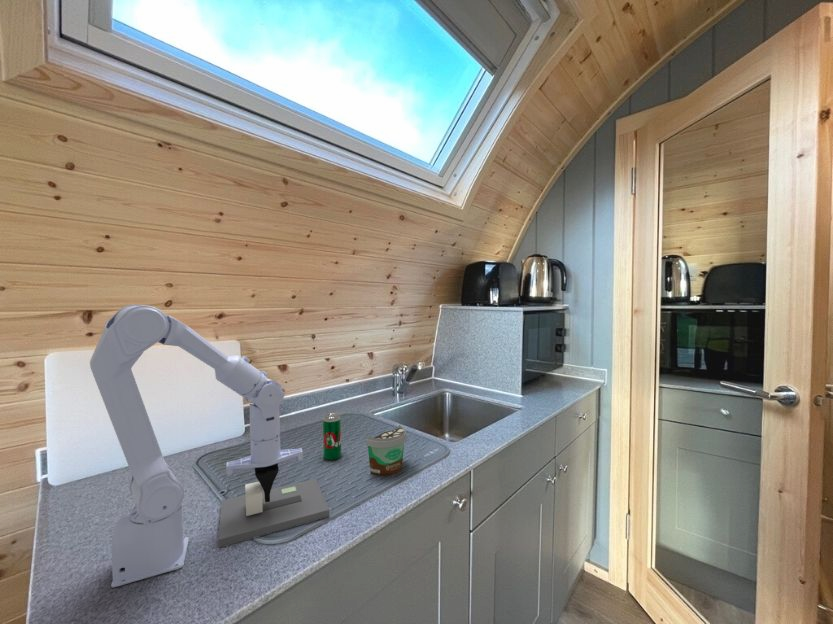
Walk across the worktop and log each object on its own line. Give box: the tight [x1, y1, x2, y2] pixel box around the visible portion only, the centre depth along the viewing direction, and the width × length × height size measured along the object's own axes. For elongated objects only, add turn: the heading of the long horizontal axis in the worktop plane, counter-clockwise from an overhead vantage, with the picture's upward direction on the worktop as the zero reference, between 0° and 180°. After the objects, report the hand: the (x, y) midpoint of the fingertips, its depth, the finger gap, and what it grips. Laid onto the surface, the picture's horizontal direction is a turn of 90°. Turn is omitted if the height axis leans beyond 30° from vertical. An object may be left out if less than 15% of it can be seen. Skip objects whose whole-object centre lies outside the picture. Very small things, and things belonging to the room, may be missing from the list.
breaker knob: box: [244, 481, 263, 516], centre depth 73 cm, size 3×5×4 cm, turn 27°
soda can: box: [322, 412, 342, 461], centre depth 100 cm, size 5×5×12 cm
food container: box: [365, 424, 408, 477], centre depth 92 cm, size 12×6×10 cm, turn 137°
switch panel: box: [217, 478, 330, 548], centre depth 75 cm, size 20×14×2 cm
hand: (267, 499), depth 74 cm, fingers closed
